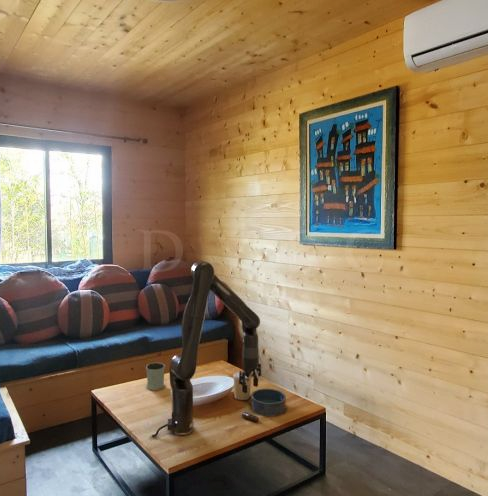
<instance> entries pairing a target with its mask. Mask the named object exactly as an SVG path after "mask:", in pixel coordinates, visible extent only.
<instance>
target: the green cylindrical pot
mask: <svg viewBox="0 0 488 496" xmlns="http://www.w3.org/2000/svg"><path fill="white" fill-rule="evenodd" d="M165 369H166V365H165V364H164V363H163V362H158V361H157V362H151V363H148V364H146V366H145V370H146V371H145V372H146V380H147V381H146V382H147V384H146V385H147V389H148V390H150V391H161V390H162V389H164V387H165V385H164V383H165V382H164V381H165Z"/></svg>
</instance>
